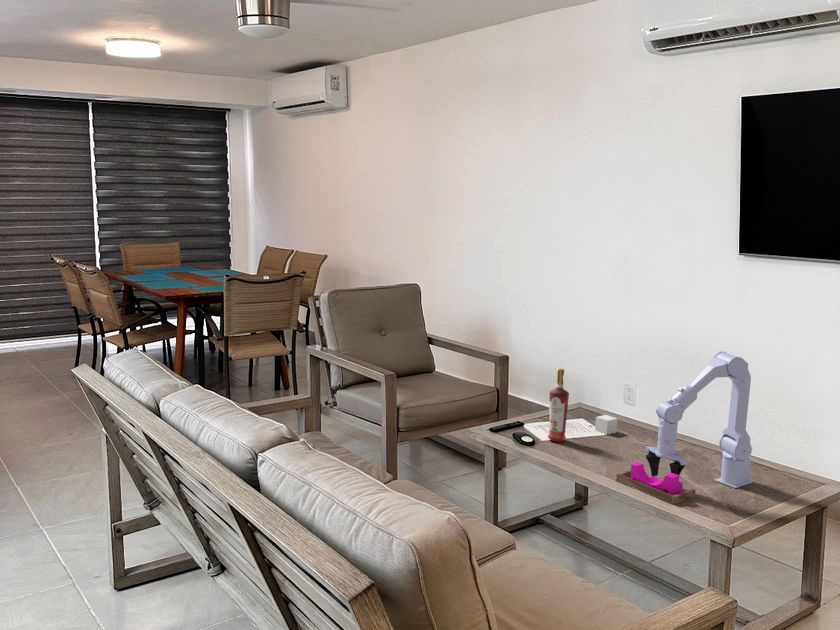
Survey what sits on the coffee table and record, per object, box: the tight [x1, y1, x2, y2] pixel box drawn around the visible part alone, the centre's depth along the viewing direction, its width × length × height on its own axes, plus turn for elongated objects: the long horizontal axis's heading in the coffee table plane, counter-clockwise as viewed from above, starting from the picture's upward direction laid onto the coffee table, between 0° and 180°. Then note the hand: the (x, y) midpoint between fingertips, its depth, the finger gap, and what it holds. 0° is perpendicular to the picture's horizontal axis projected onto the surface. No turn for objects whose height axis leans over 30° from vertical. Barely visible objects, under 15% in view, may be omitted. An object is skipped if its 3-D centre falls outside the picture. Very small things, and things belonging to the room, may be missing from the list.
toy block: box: [630, 461, 684, 496], centre depth 245 cm, size 15×6×8 cm, turn 40°
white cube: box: [594, 414, 618, 436], centre depth 306 cm, size 6×6×6 cm
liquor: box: [547, 368, 570, 443], centre depth 292 cm, size 7×7×28 cm
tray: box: [615, 469, 697, 505], centre depth 247 cm, size 11×23×2 cm, turn 34°
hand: (664, 479), depth 249 cm, fingers open, 7 cm apart
